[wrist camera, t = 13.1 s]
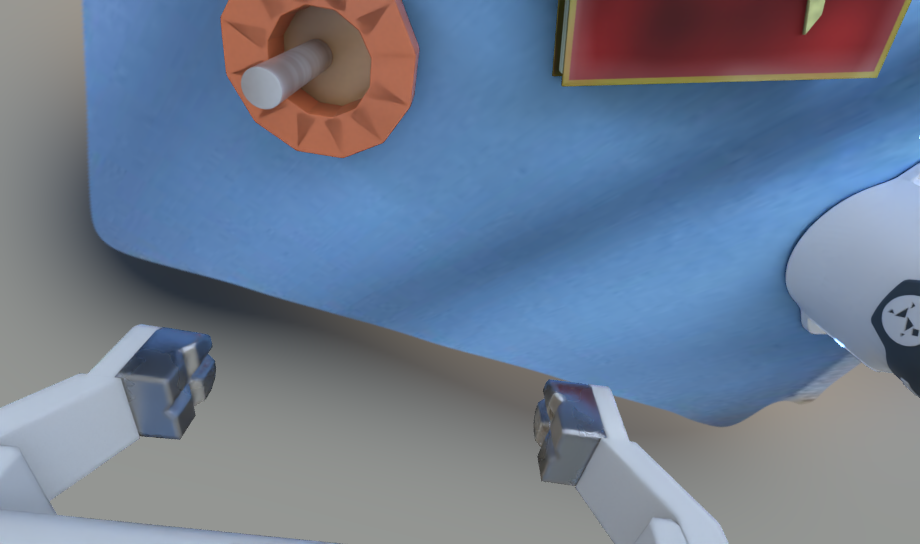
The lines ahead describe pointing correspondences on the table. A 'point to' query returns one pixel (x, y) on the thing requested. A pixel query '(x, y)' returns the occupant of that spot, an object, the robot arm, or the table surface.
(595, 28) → the hardcover book
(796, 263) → the robot arm
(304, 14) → the stand
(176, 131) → the table surface
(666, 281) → the table surface
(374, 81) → the ring
